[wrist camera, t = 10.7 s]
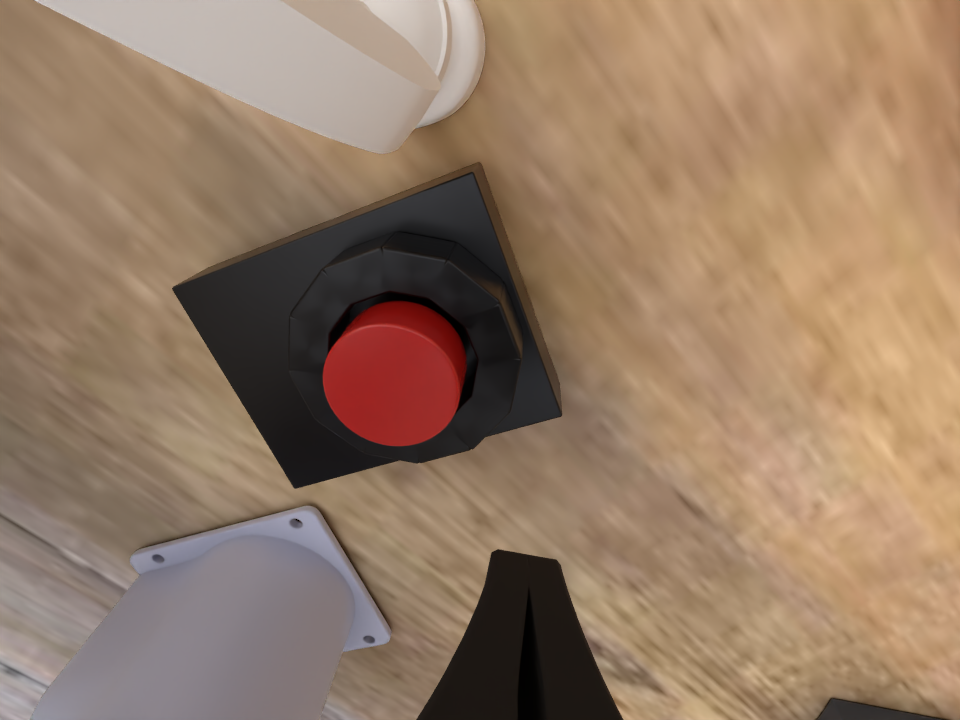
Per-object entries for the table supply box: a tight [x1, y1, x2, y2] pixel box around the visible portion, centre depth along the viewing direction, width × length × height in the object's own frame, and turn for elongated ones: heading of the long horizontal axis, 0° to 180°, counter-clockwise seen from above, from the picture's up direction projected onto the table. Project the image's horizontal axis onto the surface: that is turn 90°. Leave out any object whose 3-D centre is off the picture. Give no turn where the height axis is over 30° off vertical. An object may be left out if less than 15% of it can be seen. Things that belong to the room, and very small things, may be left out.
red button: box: [323, 301, 467, 446], centre depth 16 cm, size 4×4×2 cm
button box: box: [172, 162, 562, 489], centre depth 18 cm, size 10×8×4 cm
